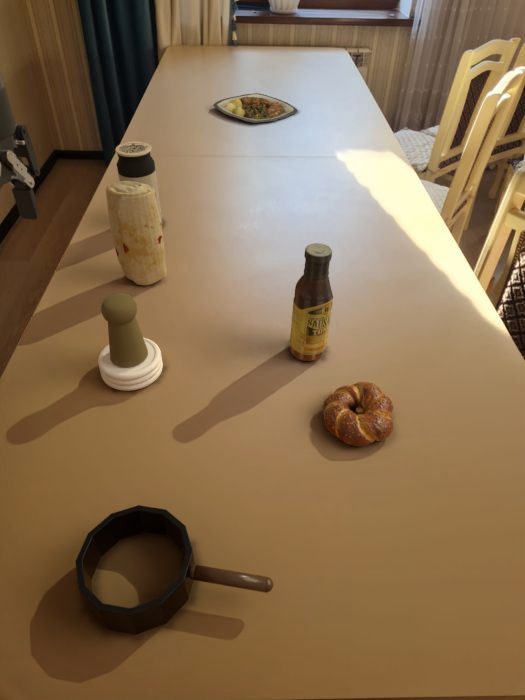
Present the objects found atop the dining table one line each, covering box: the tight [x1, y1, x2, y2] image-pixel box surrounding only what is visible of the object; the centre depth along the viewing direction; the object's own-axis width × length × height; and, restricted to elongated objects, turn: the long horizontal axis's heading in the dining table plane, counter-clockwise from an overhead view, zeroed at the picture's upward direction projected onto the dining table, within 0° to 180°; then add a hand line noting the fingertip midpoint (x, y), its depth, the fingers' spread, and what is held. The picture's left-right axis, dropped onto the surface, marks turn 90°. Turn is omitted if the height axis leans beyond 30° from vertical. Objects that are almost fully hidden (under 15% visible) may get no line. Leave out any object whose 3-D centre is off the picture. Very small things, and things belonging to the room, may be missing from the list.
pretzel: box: [321, 381, 394, 447], centre depth 80 cm, size 12×11×4 cm
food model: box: [105, 181, 168, 286], centre depth 102 cm, size 10×7×20 cm
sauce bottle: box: [289, 242, 334, 362], centre depth 86 cm, size 7×6×20 cm
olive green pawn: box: [100, 292, 148, 368], centre depth 83 cm, size 6×6×11 cm
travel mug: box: [114, 140, 163, 226], centre depth 119 cm, size 8×8×18 cm
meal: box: [212, 92, 299, 124], centre depth 184 cm, size 25×25×3 cm
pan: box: [75, 504, 274, 635], centre depth 61 cm, size 22×12×5 cm, turn 80°
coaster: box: [97, 337, 164, 392], centre depth 88 cm, size 10×10×4 cm
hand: (12, 235), depth 62 cm, fingers open, 8 cm apart
